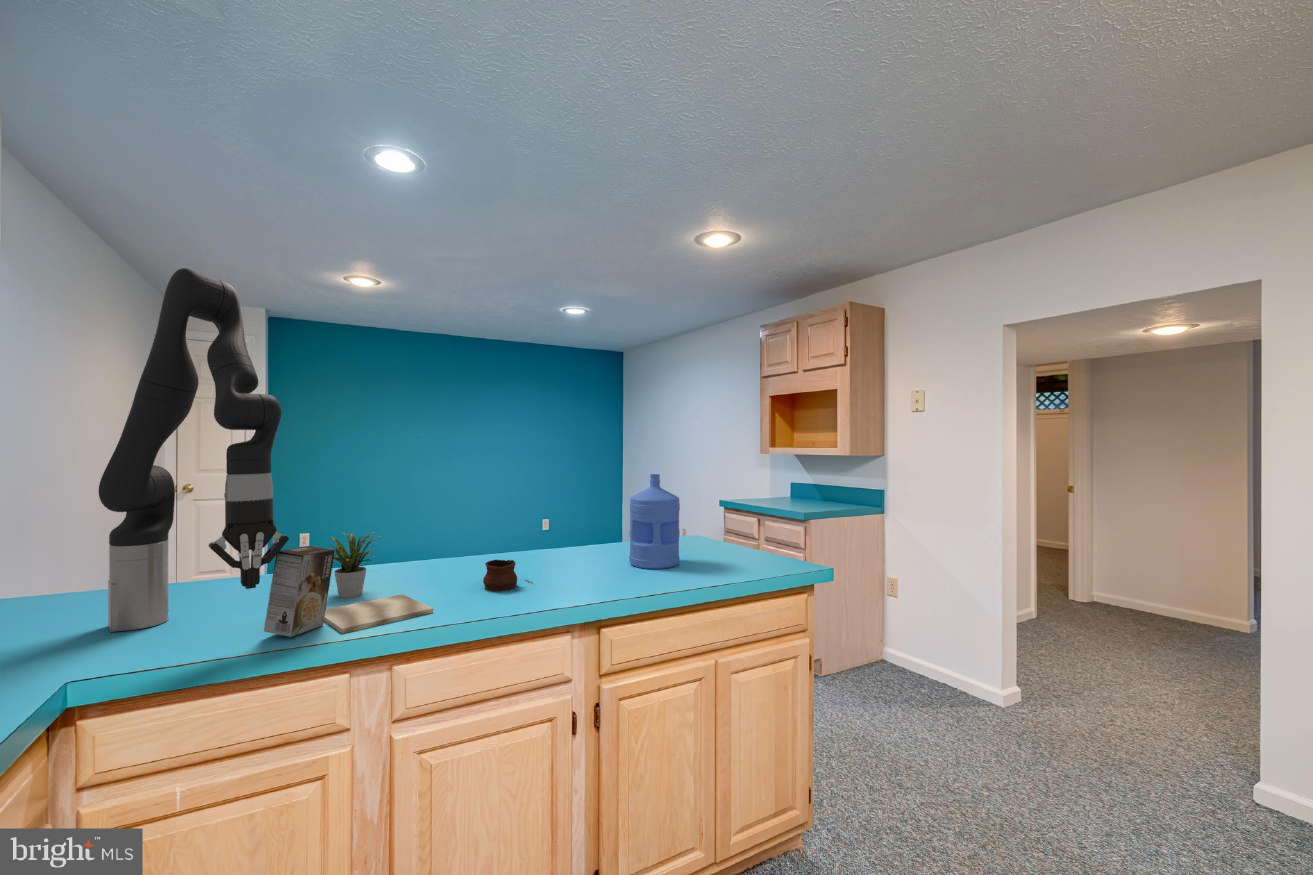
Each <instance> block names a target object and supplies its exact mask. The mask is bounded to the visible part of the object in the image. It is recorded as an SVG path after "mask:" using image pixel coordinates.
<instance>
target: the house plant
mask: <svg viewBox="0 0 1313 875" xmlns="http://www.w3.org/2000/svg"><path fill="white" fill-rule="evenodd" d="M345 532H346V533H347V534H346V533H345ZM345 532H343V535H344V536H345V537H346V540H347V543H348V547H349V553H348V550H347V549H346V548H345V546H344V545H343V543H342V542H341V541H340V540H339V539H337V538H336V537H334V536H332V535H331V536H330V535H329V537H330V538H331V539H332V540H333V541H334V543H335V544H336V547H335V545H332V544H331V543H329V542H325V544H328V545H329V546H330V547H332V548H333V549H334V550H335V553H336V554H334V559H333V560H334V561H333V564H335V565H336V566H338V568H337V569H335V570H334V577H335V583H336V589H337V593H338V594H337V595H338V597H339V598H345V599H346V598H353V597H358V596H361V595H362V594H363V592H364V586H365V579H366V574H367V567H364V566H361V564H362V563H363V562H367V561H369V562H372V559H369V558H368V557H373V558H374V559H376V557H375V555H374V554H370V555H369V553H371V551H372V550H375V549H376V548H371V549H369V550H367V551H366V549H367V548H368V546H369V545H370V544H371V543H372V542H373V541H374V540H376V539H378V538H379V537H381V538H382V537H383V535H378V536H374V537H373V538H371V539H370V540H369V541H368V542H367V539H368V538H369V537H370V536H371V535H372V534H374V533H377V532H378V531H372V532H370V533H368V534H366V535H365V534H364V535H363V538H362V536H360V537H359V538H358V540H357V539H356V538H357V537H356V536H355V535H354V533H352V532H350V534H349V533H348V532H347V530H345ZM361 539H362V540H361ZM321 542H323V543H324V540H323V541H321ZM366 542H367V544H366ZM364 544H365V545H364ZM363 546H364V547H363ZM362 547H363V549H362ZM361 549H362V550H361ZM360 551H361V552H360ZM365 551H366V552H365ZM365 558H367V559H365ZM335 560H336V562H338V563H340V565H339V564H338V563H336V562H335Z"/></svg>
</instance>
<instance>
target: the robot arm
mask: <svg viewBox="0 0 1313 875" xmlns="http://www.w3.org/2000/svg"><path fill="white" fill-rule="evenodd" d="M163 295H164V296H163V300H162V303H161V304H162V305H161V308H160V313H159V317H158V323H157V327H156V331H155V335H154V338H153V342H152V346H151V348H150V351H149V355H148V357H147V360H146V363H145V366H144V368H143V371H142V373H141V376H140V378H139V382H138V383H137V387H136V390H135V392H134V393H135V394H134V397H133V400H132V401H133V402H132V405H131V407H130V410H129V412H128V416H127V418H126V421H125V423H124V427H123V430H122V432H121V434H120V438H119V440H118V442H117V445H116V446H115V449H114V451H113V453H112V455H111V457H110V459H109V461H108V463H107V465H106V467H105V469H104V471H103V474H102V476H101V478H100V481H99V483H98V484H99V485H98V498H99V500H100V503H101V504H102V505H103V506H104V507H105V508H106V509H107V510H109V511H111V512H115V513H125V517H124V519H123V520H122V521H121V523H119V524H118V525H117V526H115V527H114V528H113V529H112V530H111V531H110V533H109V537H108V540H109V542H108V546H109V547H108V551H109V553H108V555H109V558H108V560H109V561H108V566H109V567H108V571H109V573H108V575H109V576H108V578H109V579H108V581H107V593H108V594H107V601H108V602H107V603H108V604H107V608H108V609H107V616H108V618H107V620H108V621H107V623H108V624H107V625H108V628H109V629H108V630H109V633H114V632H124V631H135V630H140V629H146V628H152V627H154V626H157V625H161V624H163V623H166V622H167V621H168V620H169V532H170V530H171V528H172V526H173V525H174V524H173V523H174V515H175V514H174V513H175V496H176V489H175V487H176V486H175V482H174V479H173V476H172V474H171V473H170V471H168V470H167V469H166V468H164V467H162V466H159V465H155V464H154V463H155V460H156V457H157V455H158V453H159V451H160V449H161V448H162V447H163V444H164V443H165V442H166V441H167V439H169V437H171V435H172V434H173V433H174V432H175V431H176V430H177V429H178V428H179V427H180V425H182V423H184V421H185V419H186V418H187V417H188V415H189V413H190V411H191V409H192V407H193V404H194V401H195V398H196V394H197V391H198V388H199V384H200V382H199V375H198V372H197V368H196V366H195V364H194V361H193V359H192V357H191V354H190V350H189V348H188V343H187V335H186V334H187V328H188V326H187V325H188V321H189V317H191V318H196V319H199V320H201V321H205V322H211V323H212V324H214V326H215V327H216V328H217V331H218V335H217V336H216V337H215V338H214V340H212V343H211V344H210V345H209V348H208V349H207V353H206V360H207V364H208V365H207V366H208V369H209V371H210V374H211V377H212V379H213V382H214V389H215V390H214V391H215V398H214V407H213V416H214V419H215V422H216V423H217V424H218V425H219V426H220V427H222V428H223V429H226V430H229V431H231V430H232V431H233V430H234V431H255V432H254V434H253V436H252V437H251V438H250V439H249V440H246V441H241V442H235V443H232V444H230V445H229V446H228V447H227V448H226V454H225V456H226V457H225V458H226V460H225V461H226V463H225V464H226V478H225V479H226V480H225V484H224V494H223V496H224V510H225V511H224V512H225V515H224V520H225V521H224V522H225V525H224V529H222V532H221V536H220V537H219V538H218V539H216V540H215V541H212V542H210V543H208V548H209V549H210V550H211V551H213V553H215V554H216V555H217V556H218V557H219V558H220V559H221V560H222V561H224V562H225V563H226V564H227V565H228V566H229V567H231V568H233V569H239V571H240V585H241V586H242V587H244V588H245V589H246V590H251V589H256V588H257V585H260V582H261V576H260V575H261V572H260V570H261V567H262V566H264V565H266V564H270V563H271V562H272V561H273V560H274V559H275V558H276V555H277V554H278V552H279V551H280V550H283V549H282V548H283V547H284V546H285V545H286V543H287V542H289V540H290V539H289V536H287V535H286V534H282V533H280V532H278V531H277V527H276V525H275V523H274V482H273V478H272V451H273V446H274V441H275V439H276V438H275V437H276V434H277V432H278V428H279V425H280V422H281V419H282V415H283V414H282V413H283V412H282V410H283V409H282V406H281V404H280V402H279V401H278V398H276V397H275V396H273V395H272V394H265V393H252V392H254V391H255V390H256V389H257V388H258V386H259V377H258V374H257V372H256V370H255V367H254V364H253V362H252V359H251V357H250V354H249V351H248V348H247V344H246V337H245V330H244V322H243V315H242V309H241V304H240V299H239V296H238V293H237V291H236V289H235V288H234V287H233V286H232V284H230V283H228V282H226V281H224V280H222V279H219V278H216V277H214V276H210V275H206V274H204V273H201V272H199V271H196V270H193V269H190V268H184V267H183V268H180V269H177V270H176V271H175V272H173V274H172V275H171V277H170V279H169V281H168V282H167V285H166V288H165V292H164V294H163ZM271 539H272V544H271V546H270V547H269V548H268V549H267V551H266V552H265V553H263V549H264V548H265V547H266V546H267V545H268V543H269V542H270V541H271ZM226 542H227V543H228V544H229V545H230V546H231V547H232V548H233V549H234V550H235V551H237V555H238V560H236V559H235V558H234V557H233V556H232V555H231V554H229V553H228V552H227V551H226V549H227V544H226Z"/></svg>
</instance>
